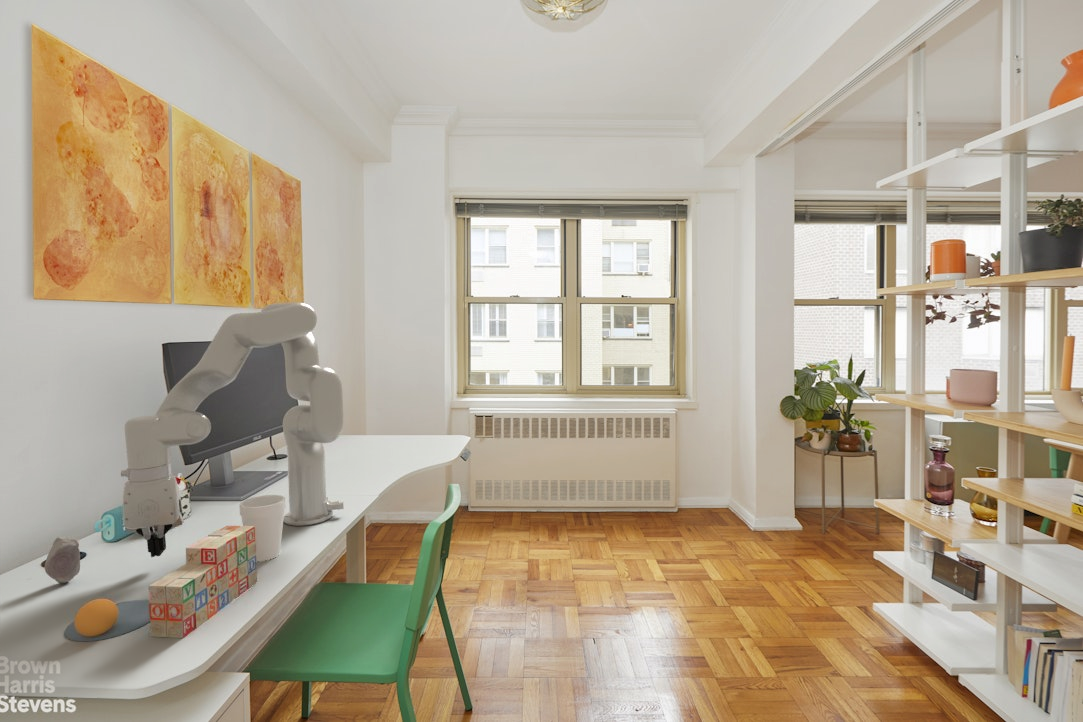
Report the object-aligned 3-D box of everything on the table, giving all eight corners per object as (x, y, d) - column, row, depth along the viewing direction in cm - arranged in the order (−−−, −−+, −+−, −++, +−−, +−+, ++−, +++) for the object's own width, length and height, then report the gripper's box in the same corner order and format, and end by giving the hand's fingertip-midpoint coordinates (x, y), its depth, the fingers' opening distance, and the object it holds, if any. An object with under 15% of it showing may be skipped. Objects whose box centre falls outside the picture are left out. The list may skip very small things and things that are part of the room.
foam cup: (296, 550, 132) (294, 497, 132) (265, 566, 124) (262, 509, 123) (264, 545, 136) (262, 493, 135) (232, 561, 127) (230, 505, 126)
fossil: (48, 591, 113) (45, 543, 112) (41, 587, 115) (38, 540, 114) (83, 580, 118) (80, 534, 117) (76, 576, 119) (73, 531, 119)
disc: (171, 595, 111) (171, 594, 110) (147, 632, 97) (147, 631, 97) (85, 608, 106) (85, 607, 106) (48, 648, 93) (48, 647, 93)
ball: (106, 610, 94) (110, 641, 95) (122, 589, 100) (126, 619, 101) (64, 615, 93) (69, 646, 94) (83, 593, 98) (87, 623, 99)
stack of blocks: (183, 639, 95) (180, 569, 95) (149, 638, 96) (145, 568, 95) (258, 582, 117) (255, 524, 116) (229, 581, 117) (227, 524, 116)
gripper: (102, 482, 115) (110, 567, 117) (185, 473, 120) (192, 555, 122) (116, 472, 122) (123, 553, 124) (194, 464, 127) (200, 542, 129)
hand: (157, 553), depth 123 cm, fingers closed
